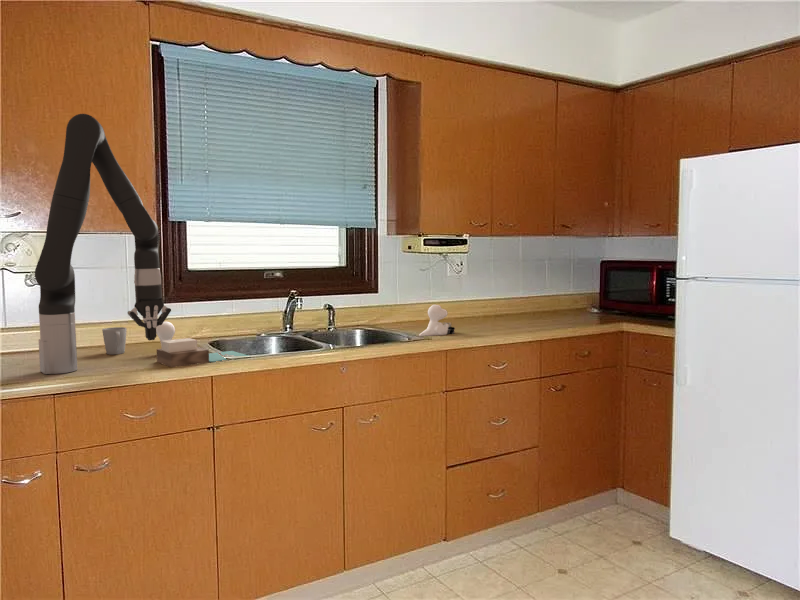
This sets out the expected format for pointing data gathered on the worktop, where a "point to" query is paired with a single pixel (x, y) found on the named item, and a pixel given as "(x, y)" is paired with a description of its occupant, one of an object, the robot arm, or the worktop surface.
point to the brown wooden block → (183, 357)
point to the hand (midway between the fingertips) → (151, 339)
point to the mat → (216, 357)
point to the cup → (114, 340)
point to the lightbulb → (165, 331)
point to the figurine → (434, 326)
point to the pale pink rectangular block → (179, 345)
